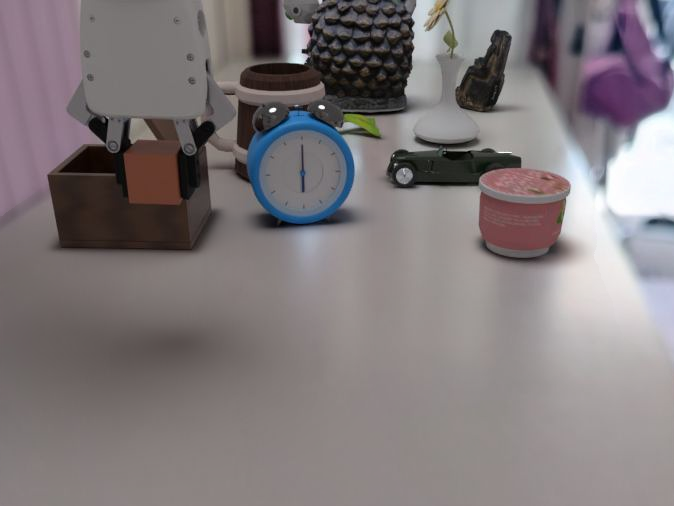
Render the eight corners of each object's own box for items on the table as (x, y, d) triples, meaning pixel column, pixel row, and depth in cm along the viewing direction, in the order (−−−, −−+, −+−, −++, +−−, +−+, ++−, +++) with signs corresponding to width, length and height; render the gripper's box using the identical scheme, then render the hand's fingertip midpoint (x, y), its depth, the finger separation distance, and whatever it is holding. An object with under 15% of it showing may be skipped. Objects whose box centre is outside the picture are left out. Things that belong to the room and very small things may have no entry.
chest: (60, 247, 96) (46, 174, 91) (94, 210, 107) (83, 143, 102) (191, 249, 95) (183, 177, 91) (211, 212, 106) (206, 145, 102)
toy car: (384, 169, 123) (385, 137, 120) (514, 170, 123) (518, 138, 120) (386, 189, 114) (388, 155, 112) (526, 190, 115) (530, 156, 112)
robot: (361, 108, 186) (259, 37, 188) (397, 49, 180) (291, -23, 183) (348, 105, 175) (239, 30, 177) (386, 42, 169) (273, -35, 172)
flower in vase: (422, 129, 144) (429, -24, 131) (484, 134, 140) (498, -22, 128) (401, 148, 133) (407, -16, 121) (469, 154, 130) (482, -14, 117)
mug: (339, 158, 127) (339, 60, 120) (324, 189, 114) (323, 81, 107) (218, 153, 130) (210, 56, 122) (190, 183, 117) (179, 76, 109)
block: (129, 203, 70) (123, 153, 67) (142, 186, 73) (137, 139, 71) (179, 205, 69) (174, 155, 67) (190, 188, 73) (186, 140, 71)
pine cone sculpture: (412, 100, 164) (417, -35, 151) (415, 118, 150) (422, -28, 138) (310, 99, 164) (307, -36, 151) (305, 117, 151) (302, -29, 138)
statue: (462, 101, 163) (467, 22, 155) (511, 111, 155) (519, 29, 148) (444, 106, 159) (450, 25, 152) (494, 116, 152) (502, 32, 144)
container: (506, 269, 91) (514, 201, 87) (457, 237, 99) (462, 174, 95) (580, 253, 95) (590, 188, 91) (526, 224, 103) (534, 163, 99)
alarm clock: (253, 229, 101) (246, 109, 93) (249, 213, 106) (242, 97, 98) (355, 222, 103) (356, 104, 96) (345, 206, 108) (345, 93, 101)
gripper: (252, -33, 65) (260, 183, 74) (47, -39, 66) (80, 177, 75) (237, -24, 59) (247, 212, 68) (10, -31, 59) (51, 205, 68)
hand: (160, 191), depth 71 cm, fingers closed on block, 4 cm apart
